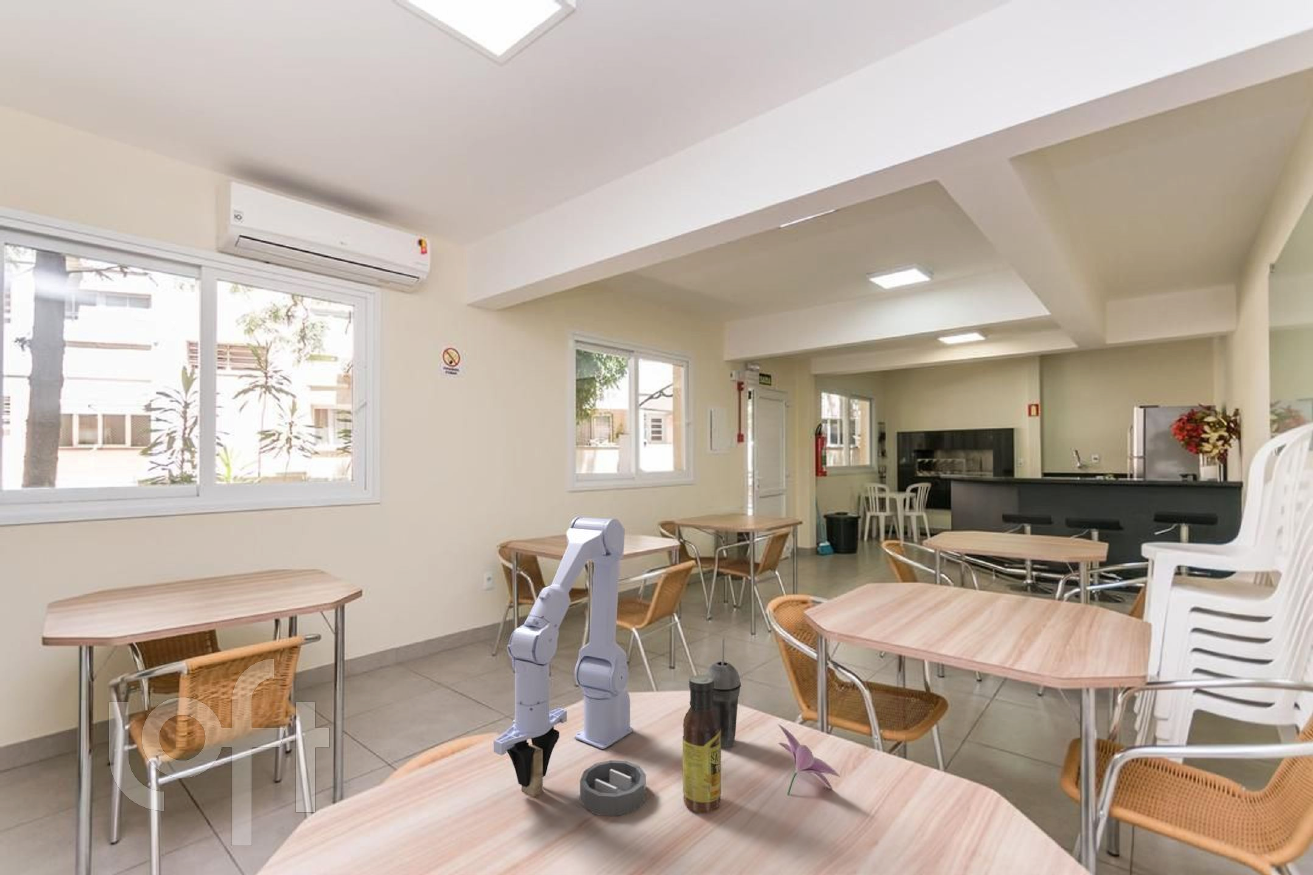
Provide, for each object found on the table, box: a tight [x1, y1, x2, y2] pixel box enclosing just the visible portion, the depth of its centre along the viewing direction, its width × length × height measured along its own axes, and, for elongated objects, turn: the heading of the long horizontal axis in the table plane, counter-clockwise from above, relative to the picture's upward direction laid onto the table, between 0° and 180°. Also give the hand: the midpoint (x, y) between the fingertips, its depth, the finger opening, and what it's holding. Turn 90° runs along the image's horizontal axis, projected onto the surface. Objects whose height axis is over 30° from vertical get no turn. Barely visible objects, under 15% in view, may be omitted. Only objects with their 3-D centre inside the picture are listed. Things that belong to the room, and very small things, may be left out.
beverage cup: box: [705, 637, 742, 750], centre depth 115 cm, size 7×7×20 cm
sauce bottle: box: [682, 674, 722, 814], centre depth 95 cm, size 7×6×20 cm
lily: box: [778, 724, 841, 796], centre depth 99 cm, size 12×12×10 cm
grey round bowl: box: [579, 759, 647, 817], centre depth 97 cm, size 11×11×3 cm
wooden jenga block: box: [521, 743, 544, 798], centre depth 98 cm, size 2×3×7 cm, turn 54°
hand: (532, 779), depth 98 cm, fingers open, 3 cm apart
